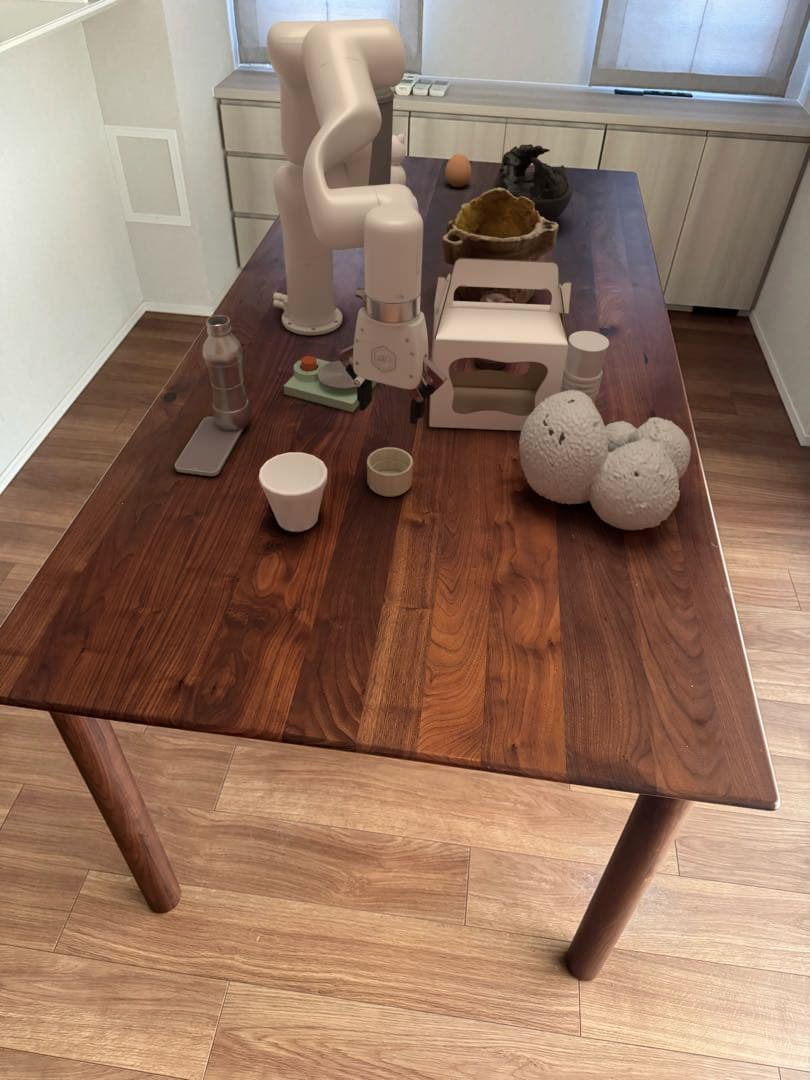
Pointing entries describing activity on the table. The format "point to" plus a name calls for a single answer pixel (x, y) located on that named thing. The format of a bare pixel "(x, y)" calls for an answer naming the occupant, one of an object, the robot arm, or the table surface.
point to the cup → (294, 489)
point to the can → (493, 298)
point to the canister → (382, 140)
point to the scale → (320, 389)
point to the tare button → (308, 363)
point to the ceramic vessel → (498, 236)
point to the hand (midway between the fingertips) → (390, 411)
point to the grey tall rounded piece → (226, 375)
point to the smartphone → (207, 449)
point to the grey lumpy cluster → (603, 461)
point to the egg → (458, 170)
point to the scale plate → (335, 376)
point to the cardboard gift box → (497, 344)
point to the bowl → (389, 471)
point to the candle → (585, 363)
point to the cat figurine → (398, 160)
